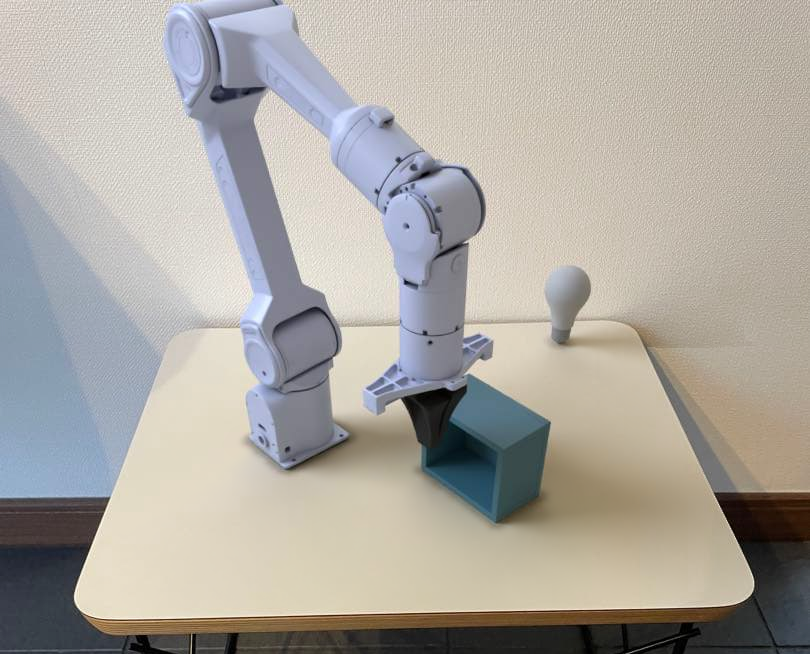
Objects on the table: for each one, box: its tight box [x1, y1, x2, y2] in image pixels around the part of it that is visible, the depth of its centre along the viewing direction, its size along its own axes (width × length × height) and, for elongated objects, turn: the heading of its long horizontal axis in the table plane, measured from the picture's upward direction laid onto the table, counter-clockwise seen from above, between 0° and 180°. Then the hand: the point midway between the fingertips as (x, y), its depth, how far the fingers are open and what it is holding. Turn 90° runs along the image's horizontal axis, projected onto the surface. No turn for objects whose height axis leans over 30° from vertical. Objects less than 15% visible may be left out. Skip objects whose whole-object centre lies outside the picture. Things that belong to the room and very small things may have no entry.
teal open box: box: [420, 373, 552, 523], centre depth 83 cm, size 7×12×10 cm, turn 41°
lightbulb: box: [544, 264, 592, 344], centre depth 104 cm, size 6×6×11 cm
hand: (428, 443), depth 76 cm, fingers closed
